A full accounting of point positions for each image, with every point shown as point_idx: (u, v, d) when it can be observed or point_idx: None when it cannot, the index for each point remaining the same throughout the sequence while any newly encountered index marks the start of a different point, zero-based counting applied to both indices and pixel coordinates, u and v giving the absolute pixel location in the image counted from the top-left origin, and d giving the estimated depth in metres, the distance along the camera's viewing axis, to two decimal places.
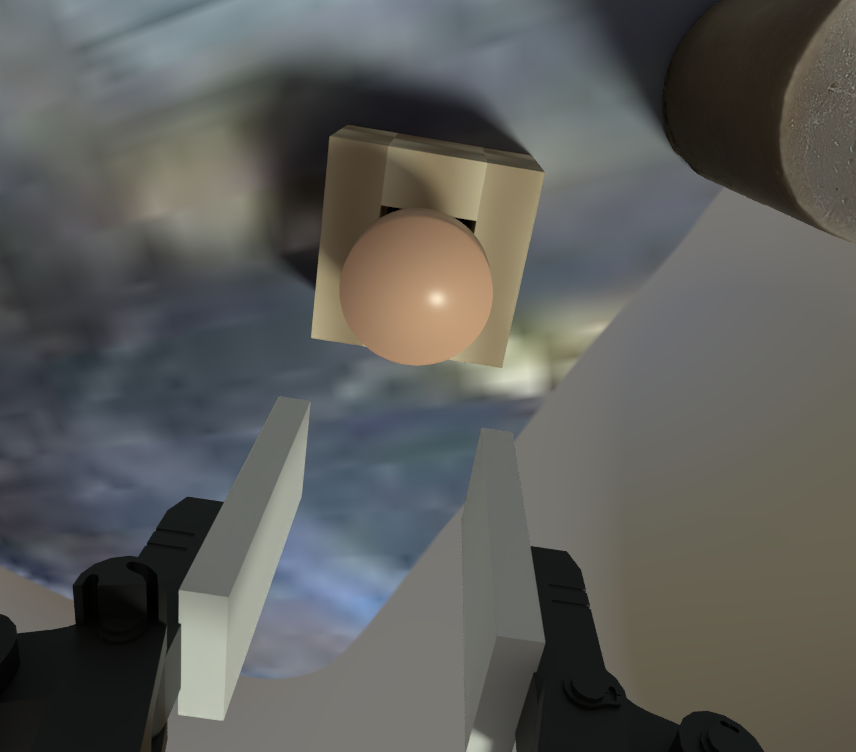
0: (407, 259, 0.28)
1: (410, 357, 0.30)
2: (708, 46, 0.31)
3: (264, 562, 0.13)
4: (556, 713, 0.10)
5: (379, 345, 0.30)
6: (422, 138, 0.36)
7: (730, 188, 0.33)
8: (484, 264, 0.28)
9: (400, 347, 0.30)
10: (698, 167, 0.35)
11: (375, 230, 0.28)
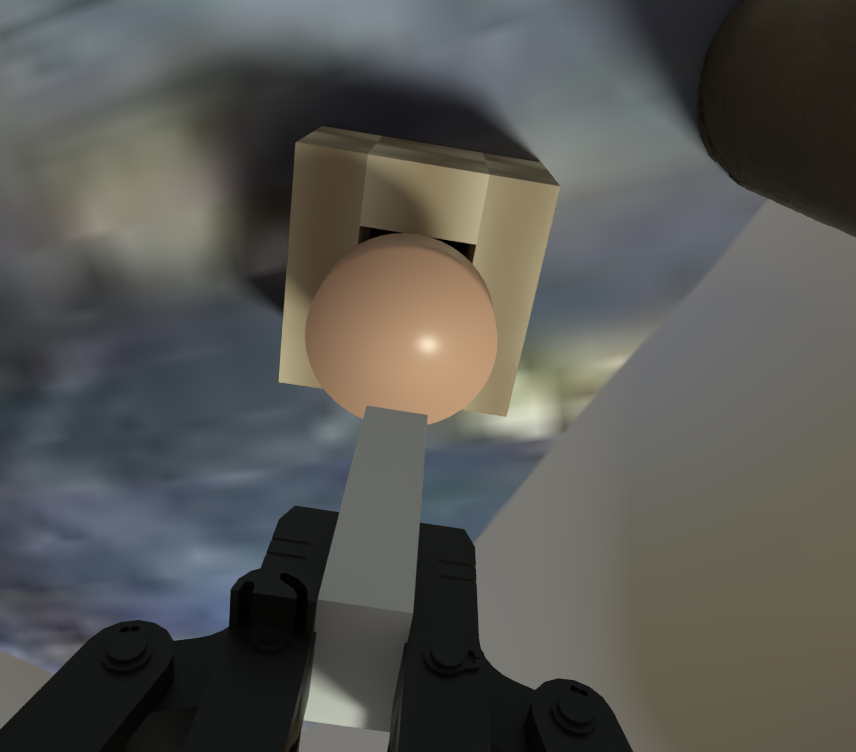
0: (390, 300, 0.22)
1: None
2: (763, 30, 0.25)
3: None
4: (417, 686, 0.10)
5: (356, 403, 0.24)
6: (411, 142, 0.31)
7: (784, 204, 0.27)
8: (487, 306, 0.22)
9: (382, 405, 0.24)
10: (741, 177, 0.29)
11: (348, 264, 0.22)
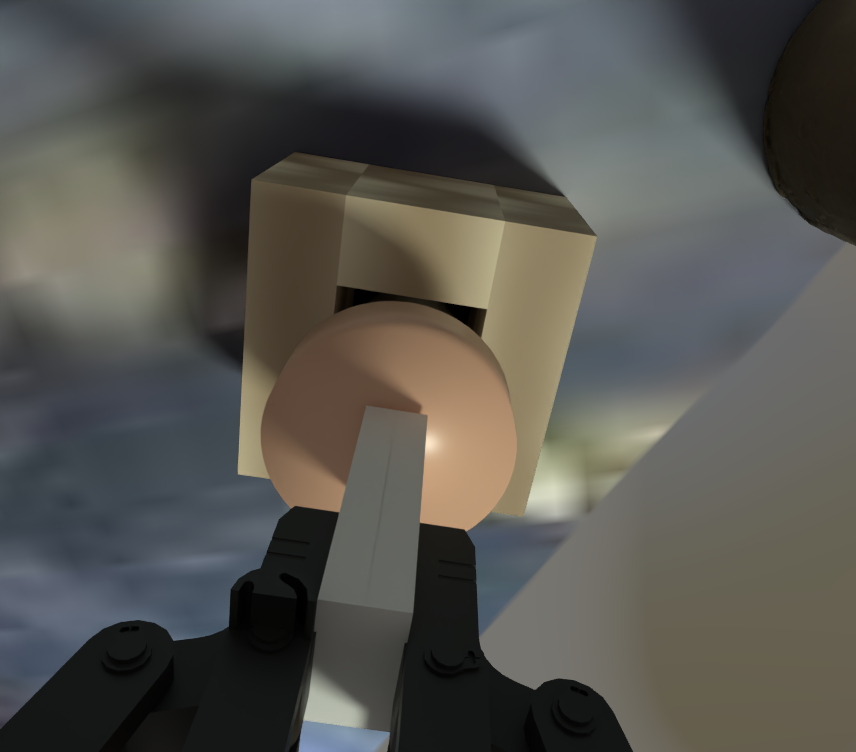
0: (373, 394, 0.17)
1: None
2: None
3: None
4: (417, 685, 0.10)
5: None
6: (404, 173, 0.25)
7: None
8: (503, 403, 0.17)
9: None
10: (821, 219, 0.23)
11: (316, 349, 0.16)
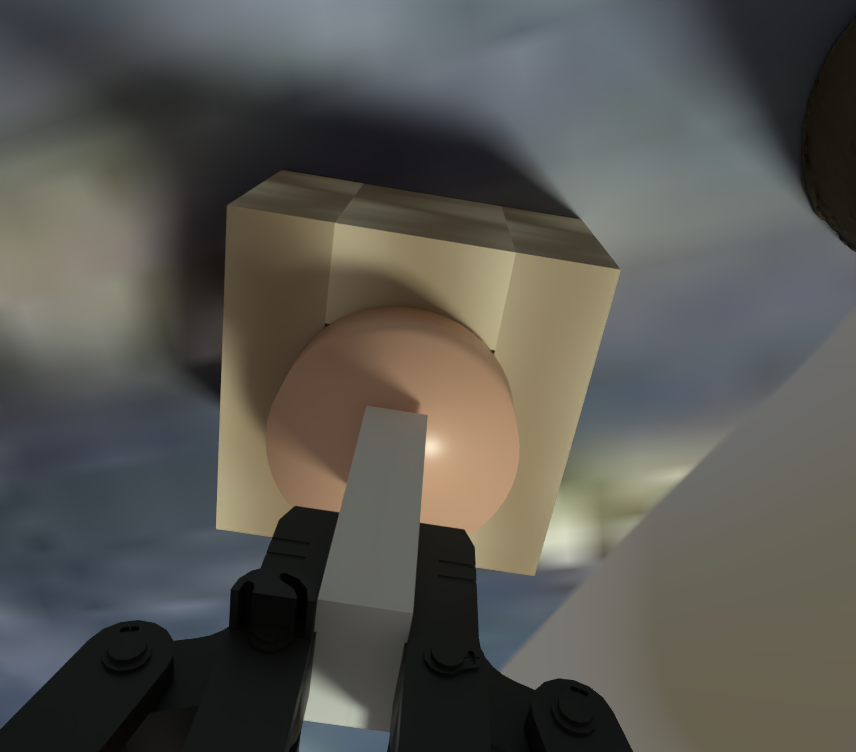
0: (377, 399, 0.17)
1: None
2: None
3: None
4: (417, 686, 0.10)
5: None
6: (403, 193, 0.22)
7: None
8: (506, 407, 0.17)
9: None
10: None
11: (321, 354, 0.16)
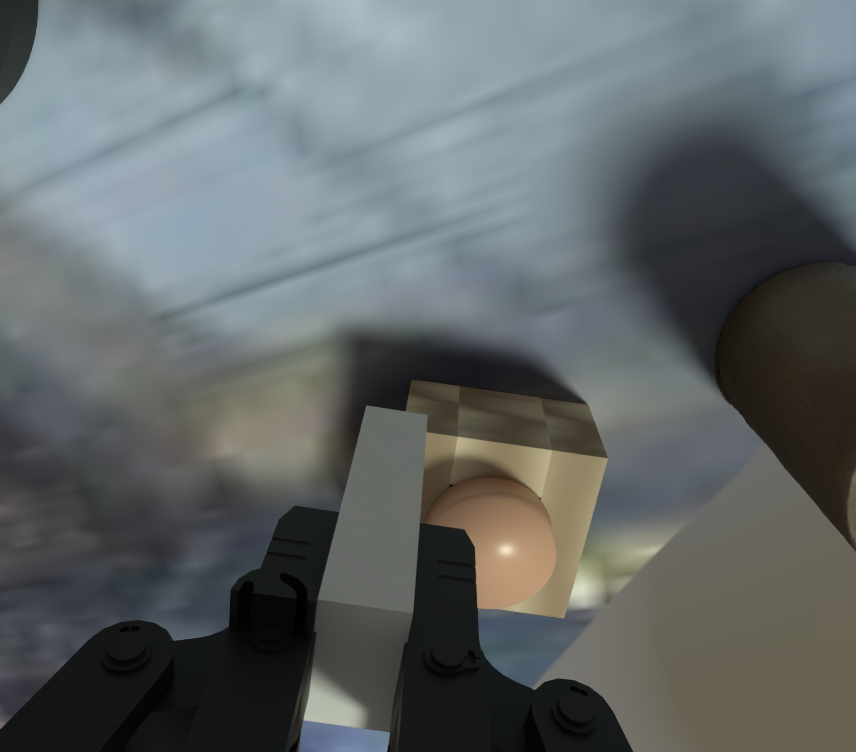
0: (482, 530, 0.33)
1: (483, 602, 0.34)
2: (765, 346, 0.32)
3: None
4: (417, 686, 0.10)
5: None
6: (483, 394, 0.38)
7: None
8: (549, 534, 0.33)
9: None
10: None
11: (455, 508, 0.32)
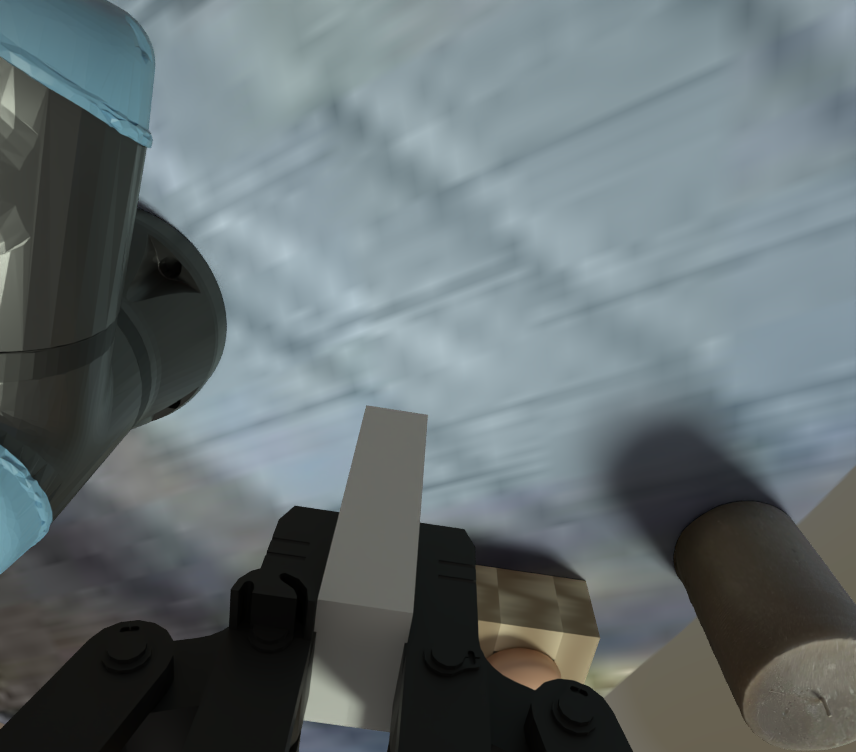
0: None
1: None
2: (703, 571, 0.49)
3: None
4: (417, 685, 0.10)
5: None
6: (513, 575, 0.55)
7: None
8: None
9: None
10: None
11: None
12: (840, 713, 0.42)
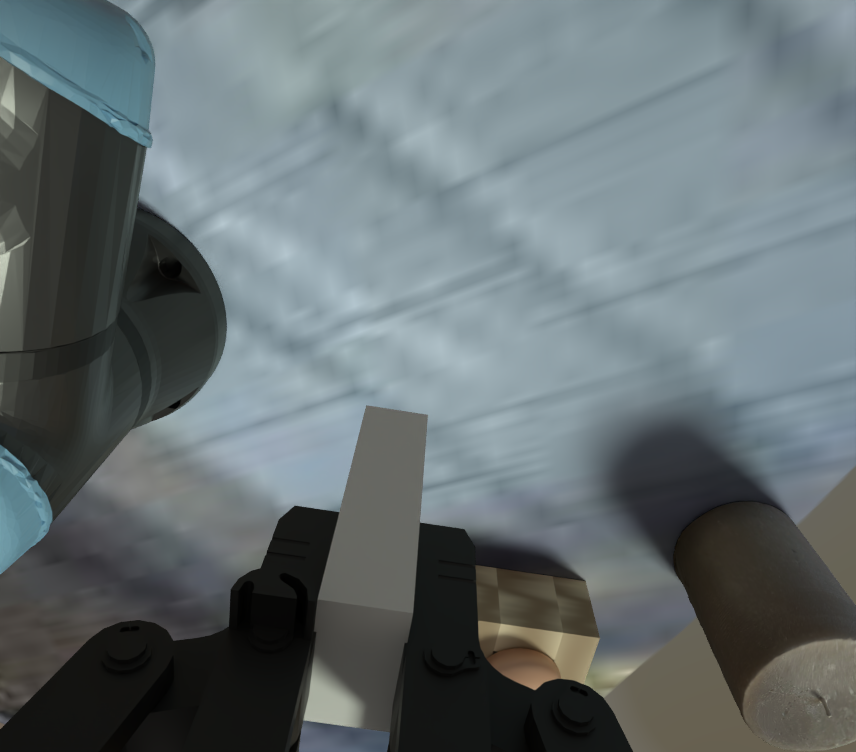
0: None
1: None
2: (703, 571, 0.49)
3: None
4: (417, 686, 0.10)
5: None
6: (513, 576, 0.55)
7: None
8: None
9: None
10: None
11: None
12: (840, 714, 0.42)
